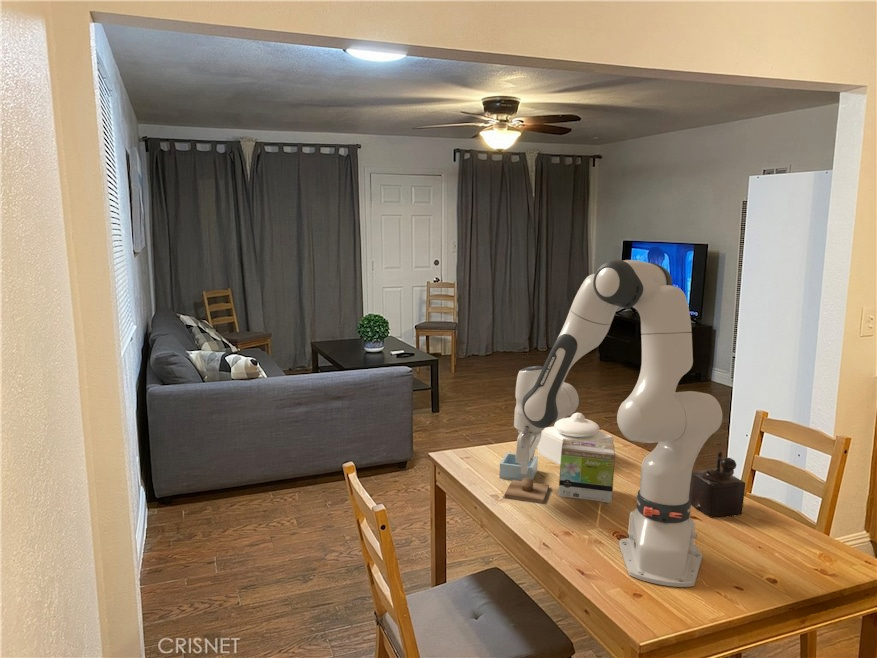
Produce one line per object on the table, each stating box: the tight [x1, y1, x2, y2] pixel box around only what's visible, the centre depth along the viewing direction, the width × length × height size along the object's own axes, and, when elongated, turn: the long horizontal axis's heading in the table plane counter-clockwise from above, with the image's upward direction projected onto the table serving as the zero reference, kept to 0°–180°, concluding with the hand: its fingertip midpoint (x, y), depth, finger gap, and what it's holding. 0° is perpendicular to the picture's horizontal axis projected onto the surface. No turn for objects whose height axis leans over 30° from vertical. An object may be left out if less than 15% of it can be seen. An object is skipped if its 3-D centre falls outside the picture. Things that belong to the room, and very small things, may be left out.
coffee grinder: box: [689, 451, 746, 518], centre depth 171 cm, size 16×11×18 cm
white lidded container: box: [537, 412, 614, 465], centre depth 211 cm, size 18×18×16 cm
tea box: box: [558, 439, 616, 504], centre depth 182 cm, size 15×10×15 cm, turn 76°
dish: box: [499, 452, 539, 481], centre depth 196 cm, size 10×10×5 cm
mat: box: [502, 486, 552, 505], centre depth 182 cm, size 12×12×1 cm
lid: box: [504, 478, 550, 504], centre depth 182 cm, size 11×11×4 cm
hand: (527, 467), depth 182 cm, fingers open, 8 cm apart
